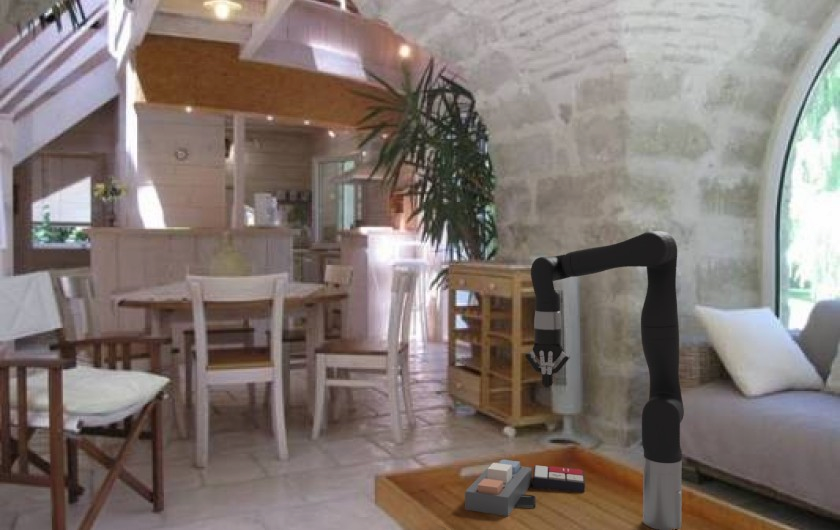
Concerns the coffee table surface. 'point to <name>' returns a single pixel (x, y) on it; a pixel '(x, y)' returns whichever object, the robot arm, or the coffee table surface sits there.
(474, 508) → the key panel
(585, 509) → the coffee table surface
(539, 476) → the calculator
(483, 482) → the terracotta key
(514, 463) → the slate key
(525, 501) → the phone
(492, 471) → the white key
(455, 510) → the coffee table surface
